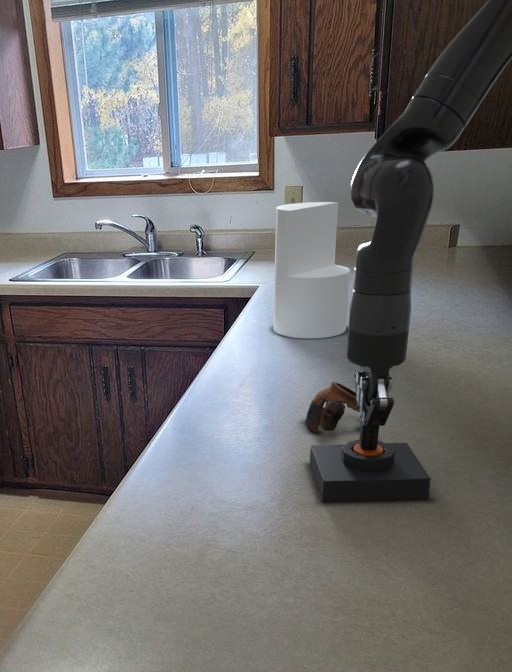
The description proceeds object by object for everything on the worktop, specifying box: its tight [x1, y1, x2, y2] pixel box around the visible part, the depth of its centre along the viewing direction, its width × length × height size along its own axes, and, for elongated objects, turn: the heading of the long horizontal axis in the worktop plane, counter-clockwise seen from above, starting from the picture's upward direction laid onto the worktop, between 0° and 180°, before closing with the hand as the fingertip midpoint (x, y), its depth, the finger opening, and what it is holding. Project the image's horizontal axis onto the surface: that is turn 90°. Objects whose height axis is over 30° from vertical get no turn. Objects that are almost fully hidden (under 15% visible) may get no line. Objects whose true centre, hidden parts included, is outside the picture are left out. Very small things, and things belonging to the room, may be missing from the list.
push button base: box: [309, 439, 431, 503], centre depth 104 cm, size 14×12×5 cm
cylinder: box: [273, 201, 351, 339], centre depth 173 cm, size 17×17×28 cm
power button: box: [353, 444, 383, 456], centre depth 103 cm, size 4×4×2 cm
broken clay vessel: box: [304, 381, 357, 433], centre depth 121 cm, size 12×10×8 cm
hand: (367, 448), depth 102 cm, fingers closed
